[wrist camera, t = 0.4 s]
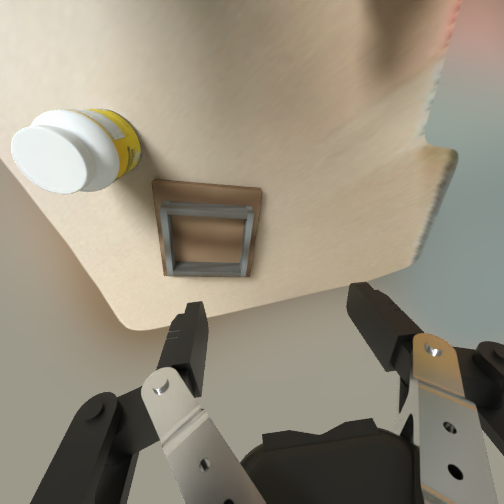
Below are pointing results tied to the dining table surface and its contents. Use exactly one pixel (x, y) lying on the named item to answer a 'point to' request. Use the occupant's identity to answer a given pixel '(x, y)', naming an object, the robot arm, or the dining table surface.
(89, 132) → the pill bottle
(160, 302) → the dining table surface
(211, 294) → the dining table surface
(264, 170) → the dining table surface
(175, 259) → the collar board
